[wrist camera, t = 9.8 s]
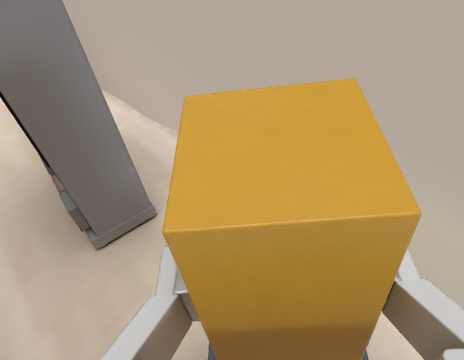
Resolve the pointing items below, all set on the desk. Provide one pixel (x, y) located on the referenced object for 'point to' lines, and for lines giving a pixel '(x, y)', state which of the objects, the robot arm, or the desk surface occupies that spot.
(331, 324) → the bar
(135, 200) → the tall grey box
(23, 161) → the desk surface
